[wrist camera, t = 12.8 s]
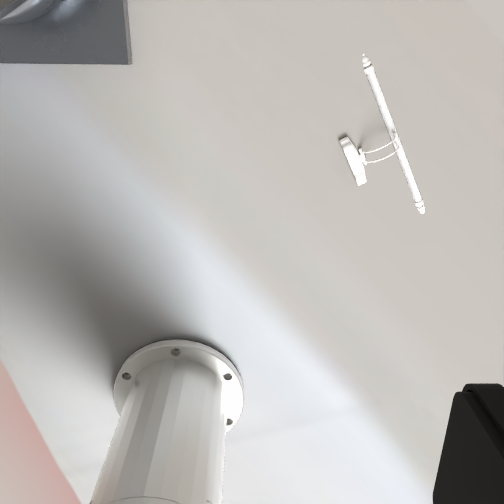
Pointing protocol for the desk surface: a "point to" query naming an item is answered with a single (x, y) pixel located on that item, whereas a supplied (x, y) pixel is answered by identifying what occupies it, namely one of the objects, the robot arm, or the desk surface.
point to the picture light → (356, 158)
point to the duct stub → (65, 32)
